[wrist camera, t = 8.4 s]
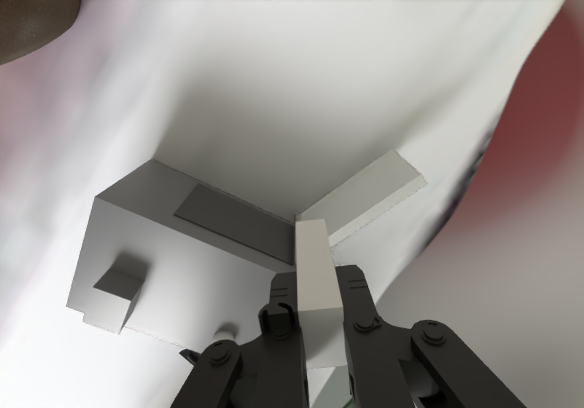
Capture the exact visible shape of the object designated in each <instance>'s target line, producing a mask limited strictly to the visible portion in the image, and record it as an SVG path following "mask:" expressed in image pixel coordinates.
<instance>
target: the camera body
mask: <svg viewBox="0 0 584 408" xmlns="http://www.w3.org/2000/svg"><path fill="white" fill-rule="evenodd" d="M296 271H297V264H296V263H295V224H293V223H291V222H289V221H287V220H285V219H282V218H280V217H278V216H276V215H274V214H271V213H269V212H267V211H265V210H263V209H260V208H258V207H256V206H254V205H252V204H249V203H247V202H245V201H243V200H241V199H238V198H236V197H234V196H232V195H230V194H227V193H225V192H223V191H221V190H219V189H216V188H214V187H212V186H210V185H208V184H205V183H203V182H201V181H199V180H197V179H194V178H192V177H190V176H188V175H186V174H183V173H181V172H179V171H177V170H175V169H172V168H170V167H168V166H166V165H164V164H161V163H159V162H157V161H155V160H152V159H151V160H149V161H148V162H146V163H145V164H143V165H142V166H140V167H139V168H137V169H136V170H134V171H133V172H131V173H130V174H128V175H127V176H125V177H124V178H122V179H121V180H119V181H118V182H116V183H115V184H113V185H112V186H110V187H109V188H107V189H106V190H104V191H103V192H101V193H100V194H98V195H97V196H95V198H94V202H93V206H92V209H91V213H90V217H89V221H88V225H87V229H86V232H85V236H84V240H83V244H82V248H81V251H80V255H79V259H78V263H77V267H76V270H75V274H74V278H73V282H72V286H71V290H70V293H69V297H68V301H67V305H66V307H69V308H71V309H74V310H77V311H80V312H83V313H84V317H83V320H82V322H84V323H87V324H90V325H93V326H96V327H98V328H101V329H104V330H107V331H110V332H113V333H116V334H119V333H120V331H121V330H122V328H123V327H126V328H129V329H132V330H135V331H138V332H140V333H143V334H146V335H149V336H152V337H155V338H158V339H161V340H163V341H166V342H169V343H172V344H175V345H178V346H181V347H184V348H186V349H189V350H192V351H195V352H198V353H201V354H202V352H203V351H204V350H205V349H206V348H207V347H208V346H209V345H211V344H212V343H214V342H216V341H219V340H225V339H229V340H232V341H235V342H236V343H237V344H238V345H242V344H245V343H247V342H250V341H252V340H254V339H256V338H257V337H258V336H260V335H261V334H262V333H261V328H260V323H259V319H258V314H259V311H260V310H261V309H262V308H263V307H264V305H266V304H268V303H269V298H270V287H271V281H272V279H273V278H274V276H275V275H276V273H286V272H296Z"/></svg>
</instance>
